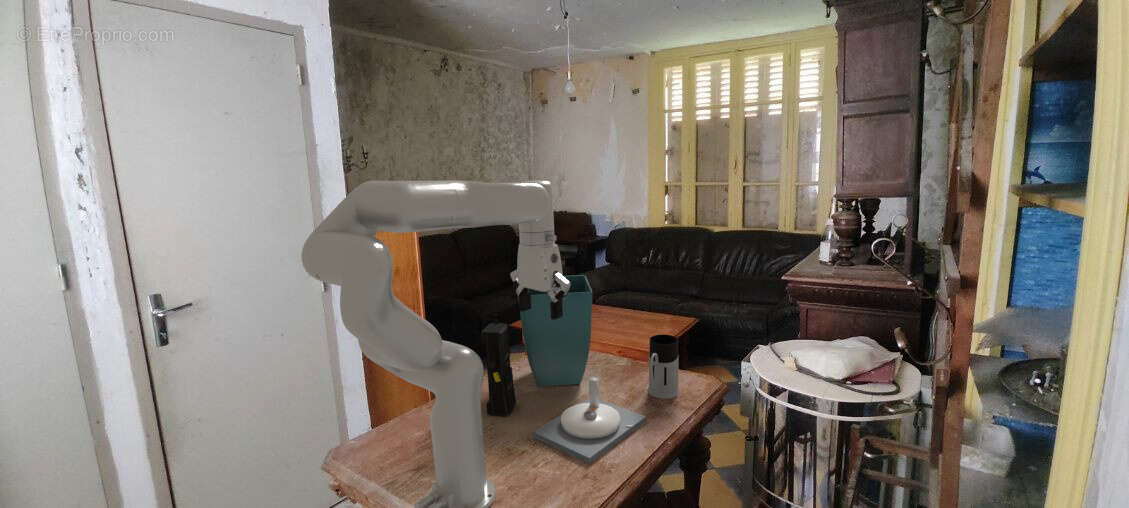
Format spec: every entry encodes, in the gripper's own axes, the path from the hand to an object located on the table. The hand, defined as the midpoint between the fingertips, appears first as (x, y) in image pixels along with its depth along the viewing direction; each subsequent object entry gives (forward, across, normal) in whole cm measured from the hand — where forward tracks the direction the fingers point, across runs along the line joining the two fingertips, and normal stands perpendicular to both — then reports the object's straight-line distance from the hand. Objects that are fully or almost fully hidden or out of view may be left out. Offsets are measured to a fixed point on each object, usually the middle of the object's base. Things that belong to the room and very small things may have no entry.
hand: (540, 313), depth 116 cm
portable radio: (+31, +18, -2) cm, 35 cm away
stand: (+30, -6, -9) cm, 32 cm away
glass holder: (+31, -10, -34) cm, 47 cm away
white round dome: (+28, -6, -9) cm, 30 cm away
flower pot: (+31, +20, -26) cm, 45 cm away
